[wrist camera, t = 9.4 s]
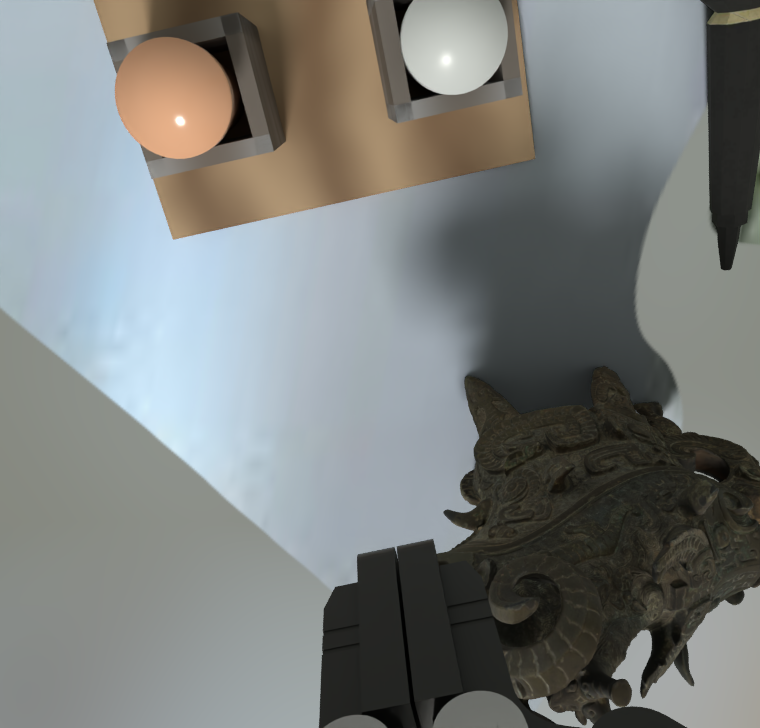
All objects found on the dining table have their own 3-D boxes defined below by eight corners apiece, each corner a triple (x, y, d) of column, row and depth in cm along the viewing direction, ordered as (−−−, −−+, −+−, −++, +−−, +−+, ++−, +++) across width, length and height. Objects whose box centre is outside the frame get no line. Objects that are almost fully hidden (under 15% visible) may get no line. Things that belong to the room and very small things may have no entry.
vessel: (332, 394, 45) (368, 661, 22) (684, 330, 47) (1057, 518, 24) (357, 531, 49) (411, 881, 26) (683, 468, 50) (1004, 745, 28)
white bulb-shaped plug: (467, -9, 35) (500, -36, 28) (480, 83, 37) (514, 81, 30) (381, 11, 35) (391, -11, 28) (398, 102, 37) (412, 105, 30)
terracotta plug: (240, 39, 34) (210, 25, 26) (265, 134, 35) (244, 145, 28) (151, 60, 34) (97, 51, 26) (180, 153, 35) (137, 169, 28)
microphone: (723, 244, 46) (745, -101, 36) (798, 267, 41) (846, -123, 31) (659, 269, 45) (663, -82, 35) (729, 296, 40) (756, -102, 30)
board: (498, -117, 35) (540, -173, 27) (530, 157, 40) (573, 171, 33) (92, -20, 36) (26, -50, 28) (177, 236, 41) (140, 268, 33)
